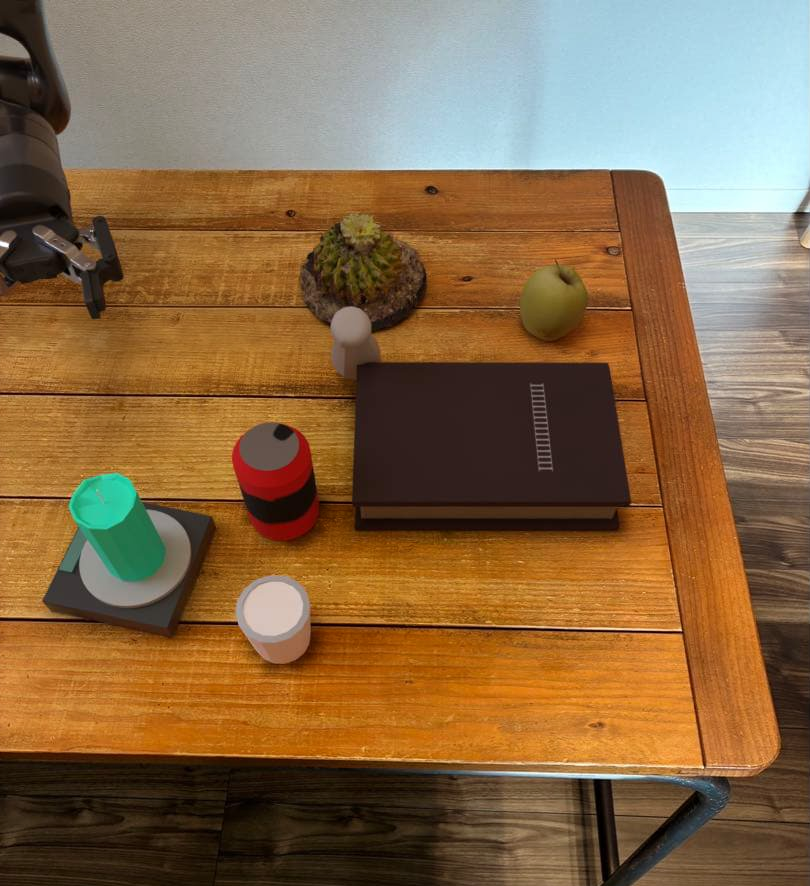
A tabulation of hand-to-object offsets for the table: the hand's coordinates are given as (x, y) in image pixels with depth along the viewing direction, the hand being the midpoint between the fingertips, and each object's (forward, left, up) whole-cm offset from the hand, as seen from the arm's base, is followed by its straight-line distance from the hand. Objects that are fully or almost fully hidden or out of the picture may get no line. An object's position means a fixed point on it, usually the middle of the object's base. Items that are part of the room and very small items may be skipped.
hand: (41, 322), depth 68 cm
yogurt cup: (+22, -14, -25) cm, 36 cm away
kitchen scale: (+5, -10, -25) cm, 27 cm away
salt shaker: (+20, +22, -24) cm, 38 cm away
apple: (+42, +33, -25) cm, 59 cm away
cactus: (+18, +35, -25) cm, 47 cm away
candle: (+6, -9, -22) cm, 24 cm away
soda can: (+18, 0, -25) cm, 31 cm away
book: (+37, +12, -25) cm, 47 cm away
